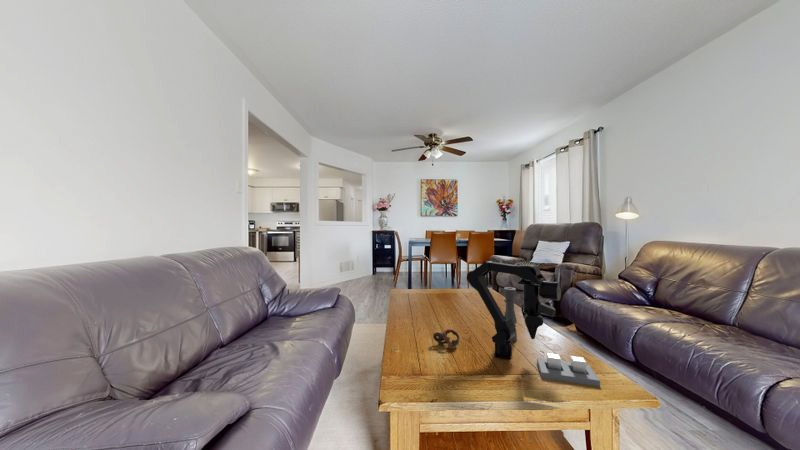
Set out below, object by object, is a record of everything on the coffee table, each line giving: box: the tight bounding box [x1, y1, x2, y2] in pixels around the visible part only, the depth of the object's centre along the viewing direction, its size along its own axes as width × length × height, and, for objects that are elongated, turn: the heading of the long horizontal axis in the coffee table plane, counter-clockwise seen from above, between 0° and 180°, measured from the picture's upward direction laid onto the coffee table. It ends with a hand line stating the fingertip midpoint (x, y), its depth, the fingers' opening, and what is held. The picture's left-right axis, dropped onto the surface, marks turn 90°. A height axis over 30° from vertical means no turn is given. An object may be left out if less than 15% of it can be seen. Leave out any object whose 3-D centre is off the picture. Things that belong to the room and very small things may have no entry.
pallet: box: [536, 357, 601, 387], centre depth 105 cm, size 18×12×3 cm, turn 71°
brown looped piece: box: [432, 328, 460, 350], centre depth 133 cm, size 12×10×8 cm
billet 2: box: [570, 355, 587, 374], centre depth 104 cm, size 4×4×6 cm
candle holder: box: [503, 286, 518, 342], centre depth 140 cm, size 6×6×25 cm
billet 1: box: [546, 352, 562, 371], centre depth 106 cm, size 4×4×6 cm
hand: (531, 334), depth 114 cm, fingers open, 9 cm apart
